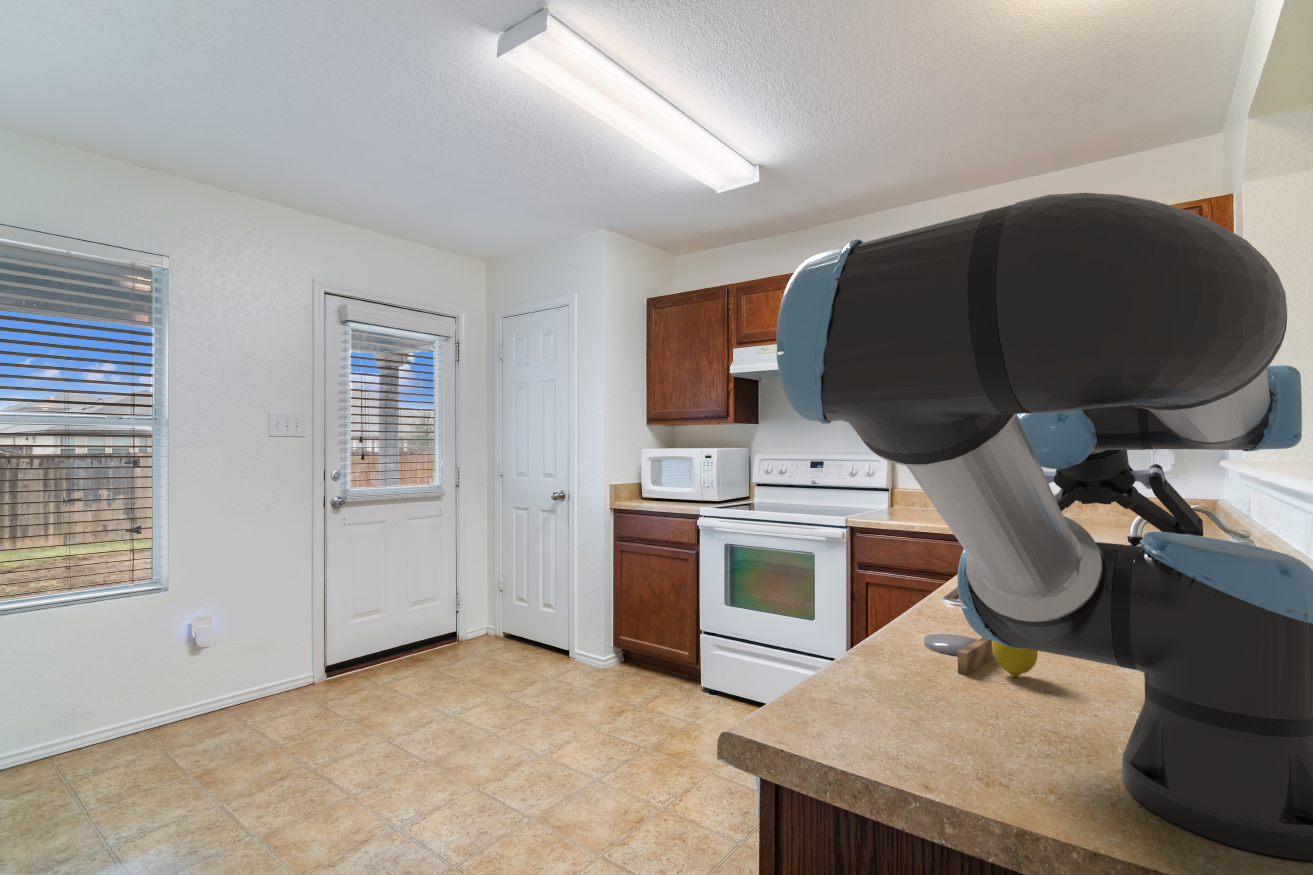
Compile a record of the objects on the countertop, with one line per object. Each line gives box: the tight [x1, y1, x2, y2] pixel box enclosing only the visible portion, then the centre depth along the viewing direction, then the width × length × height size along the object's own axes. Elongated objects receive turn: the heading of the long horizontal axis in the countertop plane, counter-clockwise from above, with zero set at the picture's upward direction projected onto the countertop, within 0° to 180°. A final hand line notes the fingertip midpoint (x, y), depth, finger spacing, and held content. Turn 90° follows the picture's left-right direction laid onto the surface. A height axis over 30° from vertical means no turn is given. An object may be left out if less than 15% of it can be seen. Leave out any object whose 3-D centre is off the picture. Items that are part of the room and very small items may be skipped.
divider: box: [957, 636, 995, 676], centre depth 95 cm, size 18×1×3 cm, turn 134°
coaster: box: [923, 633, 978, 656], centre depth 101 cm, size 9×9×1 cm
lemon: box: [992, 641, 1038, 678], centre depth 88 cm, size 6×6×8 cm
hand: (1108, 569), depth 86 cm, fingers open, 13 cm apart
